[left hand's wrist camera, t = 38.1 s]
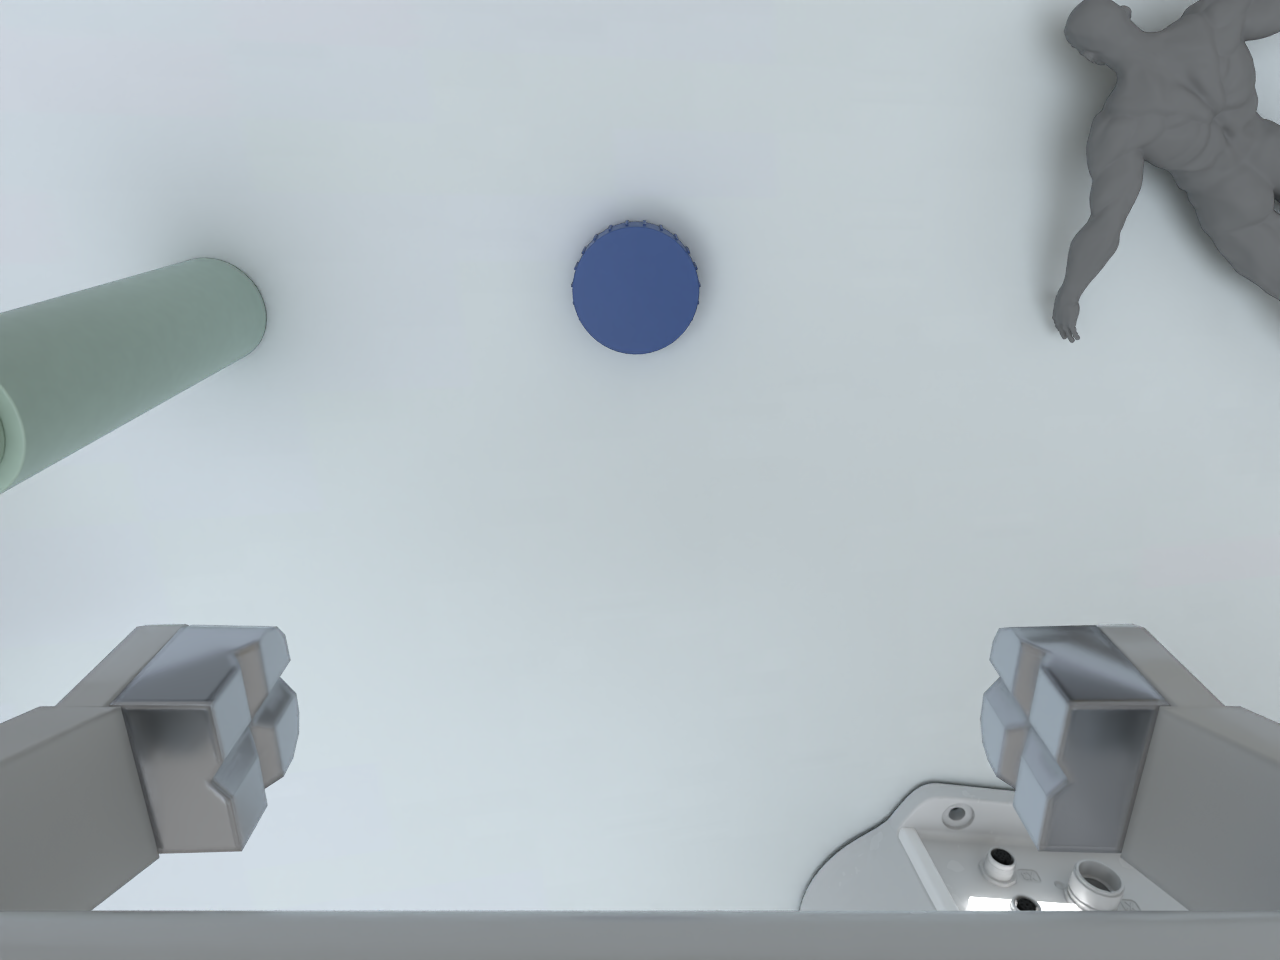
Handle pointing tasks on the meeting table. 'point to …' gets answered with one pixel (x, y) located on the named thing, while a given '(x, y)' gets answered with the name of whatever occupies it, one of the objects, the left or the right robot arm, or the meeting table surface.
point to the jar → (115, 356)
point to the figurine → (1179, 135)
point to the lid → (635, 288)
